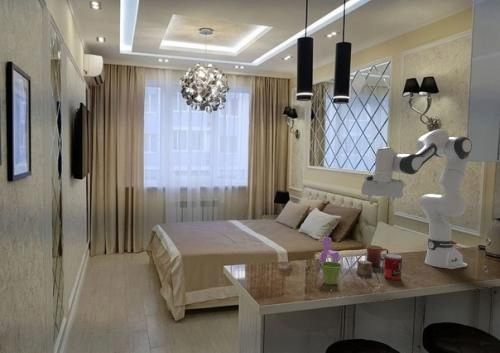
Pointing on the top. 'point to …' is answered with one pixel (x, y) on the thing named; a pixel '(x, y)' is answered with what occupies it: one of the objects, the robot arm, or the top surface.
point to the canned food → (393, 266)
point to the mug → (375, 255)
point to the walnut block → (364, 268)
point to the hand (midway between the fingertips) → (380, 205)
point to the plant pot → (331, 272)
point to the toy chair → (328, 251)
